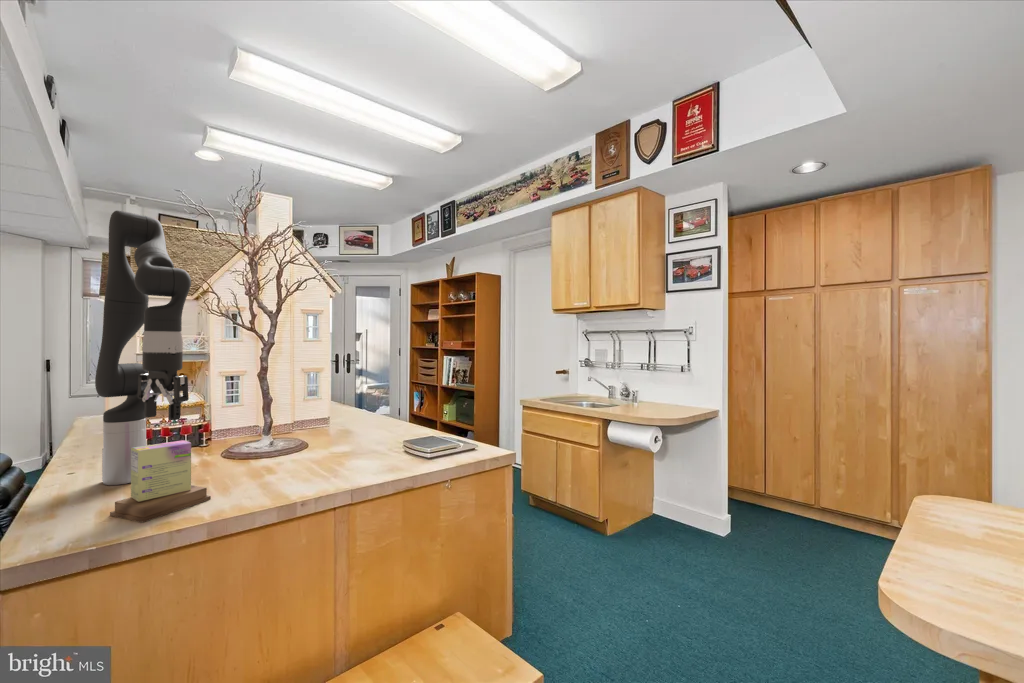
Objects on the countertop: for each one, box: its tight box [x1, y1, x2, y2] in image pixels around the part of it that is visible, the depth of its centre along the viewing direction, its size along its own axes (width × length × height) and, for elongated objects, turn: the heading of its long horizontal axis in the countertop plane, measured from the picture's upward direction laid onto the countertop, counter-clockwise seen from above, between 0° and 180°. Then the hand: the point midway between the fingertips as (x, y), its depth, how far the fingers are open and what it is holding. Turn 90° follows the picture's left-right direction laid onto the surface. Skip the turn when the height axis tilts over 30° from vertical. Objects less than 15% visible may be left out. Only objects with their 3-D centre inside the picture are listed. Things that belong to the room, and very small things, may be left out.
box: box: [130, 439, 192, 502], centre depth 106 cm, size 10×6×12 cm, turn 144°
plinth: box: [109, 484, 212, 523], centre depth 106 cm, size 11×15×3 cm
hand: (162, 418), depth 106 cm, fingers open, 8 cm apart
